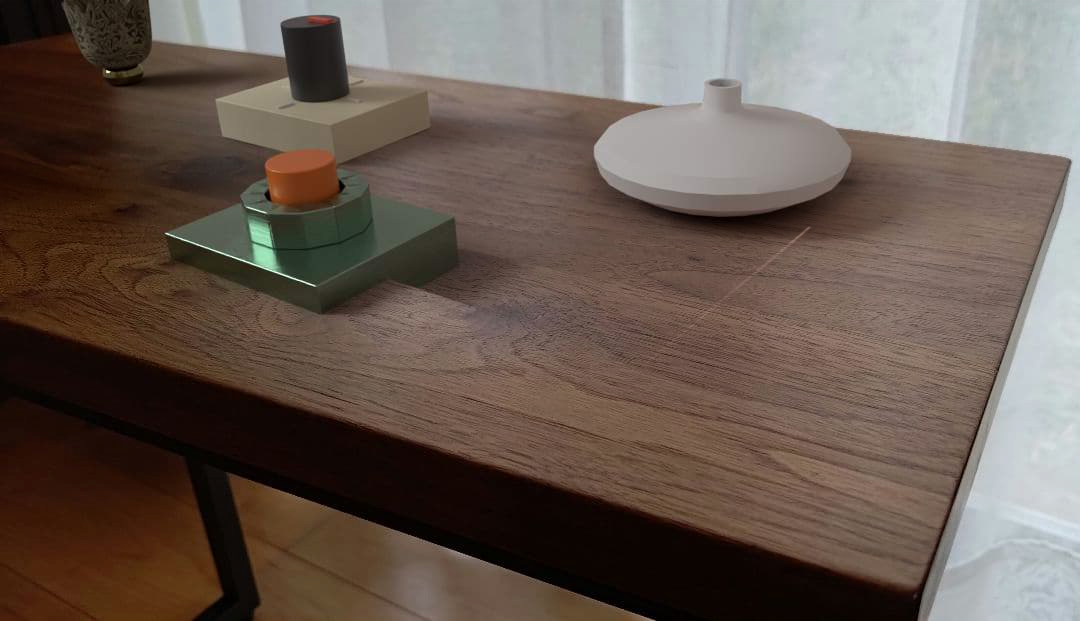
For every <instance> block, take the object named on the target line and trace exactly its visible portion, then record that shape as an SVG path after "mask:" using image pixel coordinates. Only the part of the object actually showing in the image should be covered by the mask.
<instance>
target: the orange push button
mask: <svg viewBox="0 0 1080 621" xmlns="http://www.w3.org/2000/svg"><path fill="white" fill-rule="evenodd" d="M264 168H265V174H266V178H267V180H268V186H269V191H270V197H271V201H272V202H274V203H278V204H281V205H303V204H308V203H314V202H319V201H324V200H326V199H328V198H331V197H333V196H335V195H338V194H339V193H340V188H339V181H338V174H337V169H338V168H337V165H336V161H335V156H334V155H333V154H332V153H331V152H328V151H324V150H317V149H303V150H295V151H289V152H283V153H282V152H281V153H279V154H276V155H274V156H272V157H270V158H268V159H267V160H266V162H265V163H264Z"/></svg>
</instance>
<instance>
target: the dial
mask: <svg viewBox="0 0 1080 621" xmlns="http://www.w3.org/2000/svg"><path fill="white" fill-rule="evenodd" d="M279 25H280V26H279V27H280V33H281V37H282V44H283V50H284V57H285V63H286V69H287V75H288V76H287V77H289V82H290V89H291V95H292V98H293V99H295V100H298V101H303V102H321V101H329V100H334V99H338V98H341V97H343V96H346V95H347V94H349V92H350V89H349V81H348V76H349V74H348V67H347V66H348V65H347V60H346V59H347V58H346V51H345V44H344V38H343V37H344V36H343V29H342V21H341V18H340V17H339V16H336V15H333V14H332V15H331V14H310V15H301V16H295V17H291V18H287V19H284V20H282V21H281V22H280V24H279Z"/></svg>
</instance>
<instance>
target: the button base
mask: <svg viewBox="0 0 1080 621" xmlns="http://www.w3.org/2000/svg"><path fill="white" fill-rule="evenodd" d="M337 174H338V181H339V188H340V193H339V194H338V195H335V196H333V197H331V198H328V199H326V200H324V201H319V202H314V203H308V204H303V205H281V204H278V203H274V202H272V201H271V197H270V191H269V186H268V180H267V177H265V178H263V179H260V180H258V181H256V182H253V183H252V184H250V185H249V187H247V188H246V189H245V190H244V191H243V192H242V193H241V194H240V203H237V204H234V205H231V206H229V207H227V208H224V209H222V210H219V211H216V212H214V213H212V214H209V215H206V216H204V217H202V218H199V219H196V220H194V221H191V222H189V223H186V224H184V225H182V226H180V227H176V228H174V229H172V230H169V231H167V232H165V233H164V235H165V239H166V244H167V249H168V252H169V256H170V259H171V260H173V261H176V262H178V263H181V264H184V265H186V266H189V267H191V268H194V269H197V270H200V271H202V272H205V273H208V274H210V275H212V276H216V277H218V278H220V279H222V280H223V279H224V280H227V281H229V282H232V283H234V284H237V285H240V286H242V287H245V288H248V289H250V290H252V291H255V292H259V293H261V294H264V295H266V296H269V297H272V298H273V299H274V298H275V299H277V300H280V301H283V302H285V303H287V304H291V305H294V306H295V307H298V308H300V309H304V310H306V311H308V312H309V311H310V312H312V313H315V314H317V315H323V314H325V313H327V312H329V311H331V310H333V309H335V308H336V307H338V306H340V305H342V304H344V303H346V302H348V301H349V300H352V299H353V298H355V297H357V296H359V295H361V294H362V293H364V292H367V291H368V290H370V289H372V288H373V287H376V286H377V285H379V284H382V283H383V282H384V281H387V280H390V281H393V282H396V283H400V284H401V285H406V286H409V287H412V288H414V289H419V288H421V287H423V286H425V285H427V284H429V283H430V282H433V281H434V280H436V279H438V278H439V277H441V276H443V275H444V274H446V273H448V272H451V271H452V270H454V269H455V268H457V267H459V266H460V260H459V248H458V236H457V227H456V226H457V225H456V216H455V215H451V214H447V213H444V212H440V211H437V210H432V209H429V208H425V207H421V206H418V205H414V204H410V203H407V202H402V201H399V200H395V199H391V198H387V197H383V196H381V195H377V194H372V193H371V192H370V185H369V183H368V181H367V180H366V179H365V178H364V177H363V175H362V174H361V173H358V172H353V171H350V170H347V169H343V168H337ZM453 268H454V269H453Z"/></svg>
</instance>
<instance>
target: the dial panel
mask: <svg viewBox="0 0 1080 621" xmlns="http://www.w3.org/2000/svg"><path fill="white" fill-rule="evenodd" d="M348 81H349V89H350V92H349V94H347V95H346V96H343V97H341V98H338V99H334V100H329V101H321V102H303V101H298V100H295V99H293V98H292V95H291V89H290V82H289V76H287V77H284V78H281V79H277V80H274V81H272V82H268V83H265V84H261V85H257V86H255V87H251V88H248V89H245V90H242V91H237V92H235V93H233V94H232V93H231V94H229V95H225V96H221V97H218V98H215V107H216V111H217V116H218V121H219V126H220V132H221V136H222V137H223V138H227V139H231V140H235V141H239V142H243V143H247V144H251V145H254V146H258V147H262V148H265V149H266V148H267V149H270V150H275V151H279V152H283V153H285V152H289V151H295V150H303V149H317V150H324V151H328V152H331V153H332V154H333V155H334V156H335V161H336V166H337V165H340V164H343V163H345V162H348V161H351V160H353V159H356V158H357V157H361V156H363V155H365V154H368V153H370V152H373V151H375V150H378V149H380V148H382V147H386V146H388V145H390V144H393V143H396V142H397V141H398V142H399V141H400V140H402V139H406V138H408V137H411V136H413V135H416V134H417V133H421V132H424V131H425V130H428V129H430V128H431V127H432V126H431V124H432V123H431V114H430V105H429V104H430V103H429V95H428V94H429V93H428V90H427V89H422V88H418V87H411V86H406V85H401V84H395V83H389V82H385V81H378V80H373V79H367V78H362V77H356V76H351V75H348Z"/></svg>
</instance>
